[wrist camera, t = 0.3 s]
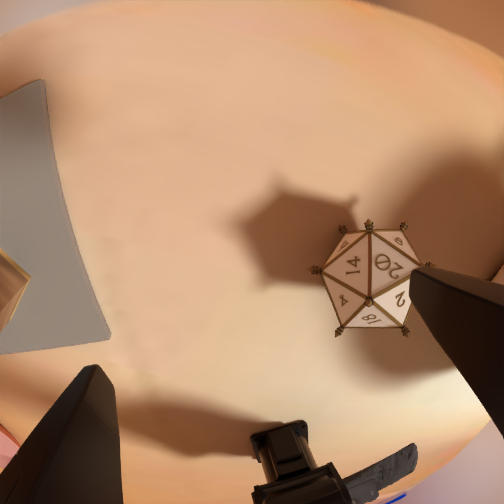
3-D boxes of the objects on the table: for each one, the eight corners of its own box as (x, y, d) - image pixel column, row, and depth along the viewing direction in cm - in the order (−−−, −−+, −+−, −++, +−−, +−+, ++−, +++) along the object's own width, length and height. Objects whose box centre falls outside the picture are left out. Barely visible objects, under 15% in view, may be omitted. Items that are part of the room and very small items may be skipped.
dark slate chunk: (411, 464, 47) (420, 479, 43) (319, 509, 46) (326, 526, 42) (417, 436, 41) (430, 453, 37) (305, 491, 40) (314, 512, 36)
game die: (309, 250, 27) (266, 286, 19) (381, 187, 23) (376, 192, 15) (369, 324, 26) (353, 390, 18) (444, 270, 22) (468, 320, 14)
